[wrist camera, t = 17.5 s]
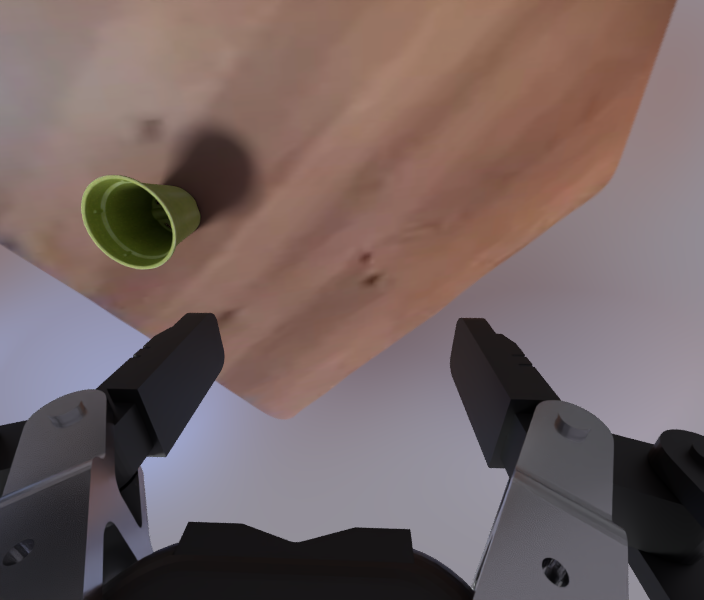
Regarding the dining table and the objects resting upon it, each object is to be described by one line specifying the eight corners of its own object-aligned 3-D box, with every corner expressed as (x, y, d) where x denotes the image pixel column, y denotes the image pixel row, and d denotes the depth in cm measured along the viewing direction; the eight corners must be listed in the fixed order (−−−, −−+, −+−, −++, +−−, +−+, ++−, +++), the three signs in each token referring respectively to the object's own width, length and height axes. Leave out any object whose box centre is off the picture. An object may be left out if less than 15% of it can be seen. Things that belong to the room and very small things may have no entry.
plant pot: (129, 220, 39) (71, 237, 31) (151, 153, 35) (91, 153, 27) (197, 259, 41) (159, 285, 33) (225, 200, 37) (188, 212, 30)
